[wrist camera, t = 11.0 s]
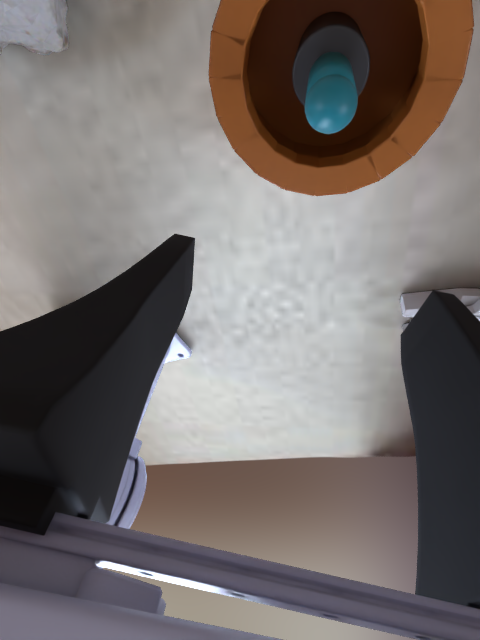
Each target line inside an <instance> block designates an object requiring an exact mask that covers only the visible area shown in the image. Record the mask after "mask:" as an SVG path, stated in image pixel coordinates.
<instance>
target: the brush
mask: <svg viewBox="0 0 480 640" xmlns="http://www.w3.org/2000/svg"><path fill="white" fill-rule="evenodd" d="M369 70H370V55H369V50H368V47H367V45H366V42H365V40H364V37H363V35H362V33H361V30H360V28H359V26H358V24H357V23H356V22H355V20H354V19H353V18H351V17H350V16H349V15H347V14H345V13H342V12H328V13H325V14H323V15H321V16H319V17H317V18H316V19H315V20H314V21H313V22H311V23H310V25H309V26H308V27H307V28H306V30H305V31H304V33H303V35H302V38H301V40H300V43H299V46H298V50H297V53H296V56H295V60H294V63H293V69H292V82H293V87H294V91H295V93H296V96H297V97H298V99H299V101H300V102H301V103H302V104H303V105H304V106H305V114H306V118H307V120H308V122H309V124H310V125H311V126H312V127H313V128H314V129H315V130H316V131H318V132H321V133H324V134H331V133H335V132H338V131H340V130H342V129H343V128H345V127H346V126H347V125H348V124H349V123H350V122H351V120H352V119H353V117H354V115H355V112H356V109H357V104H358V96H359V95H360V94H361V92H362V90H363V89H364V87H365V84H366V82H367V79H368V76H369Z"/></svg>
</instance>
